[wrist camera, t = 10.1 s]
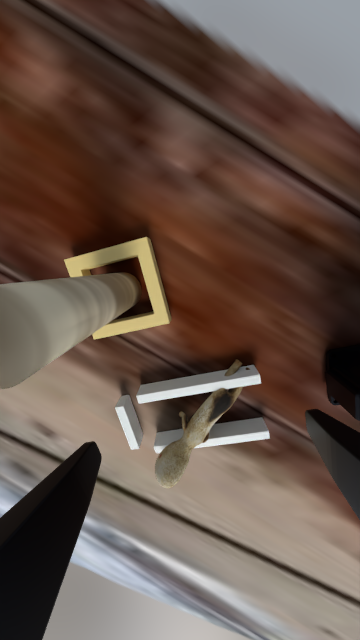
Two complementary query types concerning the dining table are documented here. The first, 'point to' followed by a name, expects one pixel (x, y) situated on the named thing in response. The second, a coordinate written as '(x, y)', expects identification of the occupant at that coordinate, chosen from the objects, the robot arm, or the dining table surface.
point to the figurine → (194, 432)
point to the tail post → (56, 318)
